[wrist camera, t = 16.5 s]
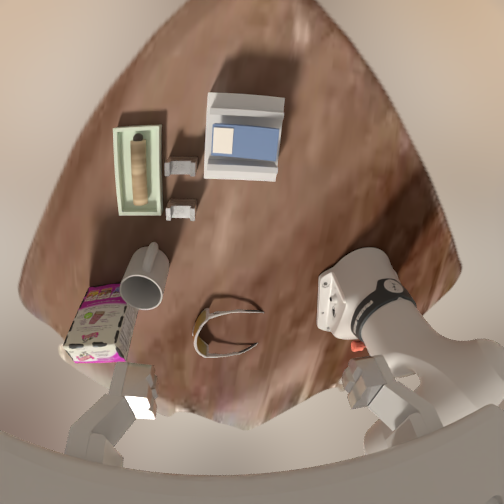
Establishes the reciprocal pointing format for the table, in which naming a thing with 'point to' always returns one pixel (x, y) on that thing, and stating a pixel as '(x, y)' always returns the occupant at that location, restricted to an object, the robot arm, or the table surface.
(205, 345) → the sunglasses
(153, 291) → the cup
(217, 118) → the grey card holder
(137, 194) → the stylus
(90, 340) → the candy bar box
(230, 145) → the blue box
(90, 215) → the table surface
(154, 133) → the tray
